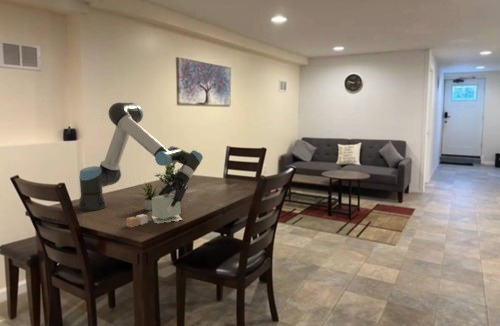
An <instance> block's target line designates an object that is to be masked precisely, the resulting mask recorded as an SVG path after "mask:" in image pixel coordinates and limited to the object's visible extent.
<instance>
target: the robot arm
mask: <svg viewBox="0 0 500 326" xmlns="http://www.w3.org/2000/svg"><path fill="white" fill-rule="evenodd" d="M143 117H144V112H143V109H142V107H141V106H140V105H139V104H137V103H133V102H116V103H113V104H112V105H111V106H110V107H109V109H108V118H109V120H110V121H111V123H112V124H114V125H115V129H114V133H113V135H112V138H111V140H110V144H109V147H108V149H107V152H106V156H105V157H104V158H105V159H104V160H102V161H101V162H100V165H99V166H97V165H96V166H95V165H94V166H87V167H84V168H82V169H81V170H80V171H79V177H78V178H79V188H80V189H79V190H80V197H79V201H78V204H77V208H78V209H77V210H79V211H84V212H85V211H86V212H87V211H88V212H89V211H99V210H102V209H105V208H107V201H106V199H105V197H104V194H103V188H105V187H108V186H112V185H115V184H116V183H118V182H119V181H120V179H121V178H122V170H121V166H120V162H121V160H122V158H123V154H124V151H125V150H126V149H125V148H126V146H127V143H128V141H129V138H130V137H131V138H132V139H133V140H135V141H136V142H137V143H138V144H139V145H140V146H141V147H142V148H144V149H145V150H146V151H147V152H149V153H150V155H152V156H153V157H154V158H155V163H156V164H157V165H159V166H162V167H163V166H169V165H171V164H176V163H178V164H180V165H181V167H180V168H179V170H178V172H176V175H174V180H173V181H171V180H169V181H168V182H167V184H165V186H163V187H164V188H163V189H162V188H161V191H160V192H158V193H157V196H161V195H164V194H170V193H171V192H172V191H174V190H176V192H175V196H174V198H173V199H174V200H173V199H172V200H171V202H170V203H169V205H168V207H167V208H166V211H167V212H169V213H170V211H171V209H172V208H173V207H174V206H175V204H176V203H177V202H178V201H179V202H182V200H183V198H184V195H185V193H186V192H187V189H189V186H188V183H189V181H190V179H191V178H192V176H193V175H194V173H195V171H197V168H198V167H199V165H200V164H201V162H202V160H203V158H204V157H203V155H202V153H201V152H199V151H198V150H191V151H190V152H188V151H185V150H184V149H181V148H179V147H178V146H173V145H172V146H169V147H168V148H166V147H165V146H164V145H163V144H162V143H161V142H159V140H157V139H156V138H155V137H153V136H152V134H150V133H149V132H148V131H147V130H146V129H144V128H143V127H142V126H141V125H140V124H138V123H140V122H141V121H143Z"/></svg>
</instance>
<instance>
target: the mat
mask: <svg viewBox="0 0 500 326" xmlns="http://www.w3.org/2000/svg"><path fill="white" fill-rule="evenodd" d="M151 218H152V220H153V222H154V224H155V223H157V224H164V222H166V223H172V222H171V221H175V222H180V221H179V220H183V218H182V217H181V216H180V214H179V215H176V216H172V217H169V218H166V219H160V218H157V217H153V216H152V215H151Z"/></svg>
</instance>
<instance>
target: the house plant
mask: <svg viewBox="0 0 500 326" xmlns="http://www.w3.org/2000/svg"><path fill="white" fill-rule="evenodd" d="M144 185H145V187H146V188H145V187H143V186H142V185H141V184H140V185H139V188H141V189H143V190H144V193H143V192H140V191H139V194H138V196H139V195H143V197H144V198H143V202H144V206H145V207H144V208H145V210H146V211H152V197H157V196H158V192H157V191H159V190H157V188H158V185H156V187H155V188H154V189H153V185H152V183H151V182H148V183H147V182H145V181H144Z"/></svg>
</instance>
